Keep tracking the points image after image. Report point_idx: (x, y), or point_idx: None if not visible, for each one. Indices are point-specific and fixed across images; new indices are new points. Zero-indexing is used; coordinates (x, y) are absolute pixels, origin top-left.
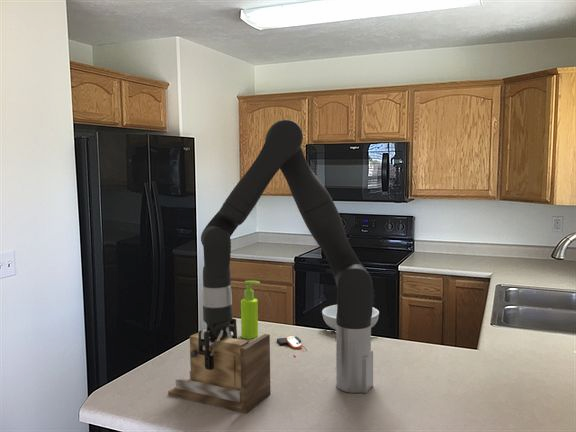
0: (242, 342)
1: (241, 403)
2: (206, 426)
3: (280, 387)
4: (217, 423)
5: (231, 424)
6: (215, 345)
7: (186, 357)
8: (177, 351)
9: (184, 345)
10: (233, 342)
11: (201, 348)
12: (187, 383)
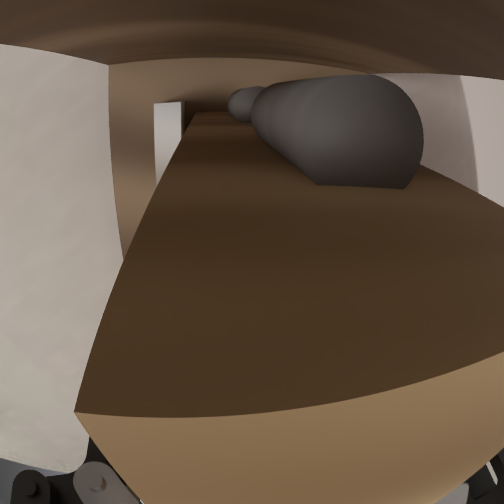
0: (472, 430)
1: (379, 72)
2: (471, 159)
3: (30, 50)
4: (452, 132)
5: (445, 79)
6: (463, 484)
7: (77, 452)
8: (74, 468)
9: (44, 466)
10: (432, 495)
11: (476, 475)
12: None
